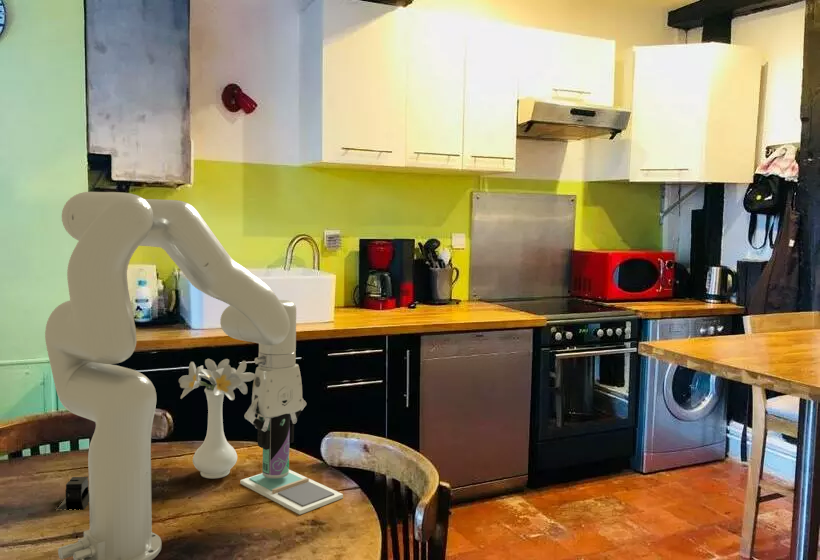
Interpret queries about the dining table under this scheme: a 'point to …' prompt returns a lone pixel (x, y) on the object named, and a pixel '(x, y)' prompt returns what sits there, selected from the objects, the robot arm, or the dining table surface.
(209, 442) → the flower vase
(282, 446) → the spray can
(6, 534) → the dining table surface
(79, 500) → the black angular piece
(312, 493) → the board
